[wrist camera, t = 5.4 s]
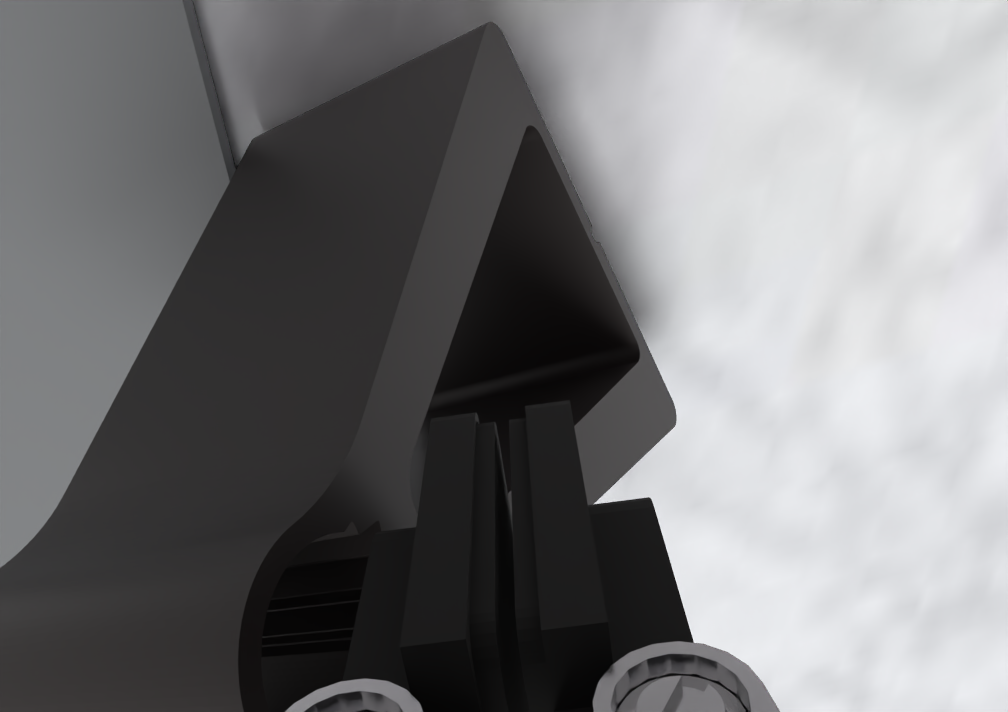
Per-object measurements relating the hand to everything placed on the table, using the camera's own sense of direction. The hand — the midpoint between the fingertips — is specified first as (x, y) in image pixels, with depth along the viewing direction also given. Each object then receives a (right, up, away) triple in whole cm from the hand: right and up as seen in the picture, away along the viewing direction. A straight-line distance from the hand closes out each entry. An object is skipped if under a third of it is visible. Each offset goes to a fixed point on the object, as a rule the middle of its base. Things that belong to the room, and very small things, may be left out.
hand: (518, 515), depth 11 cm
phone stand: (-1, +4, +9) cm, 9 cm away
